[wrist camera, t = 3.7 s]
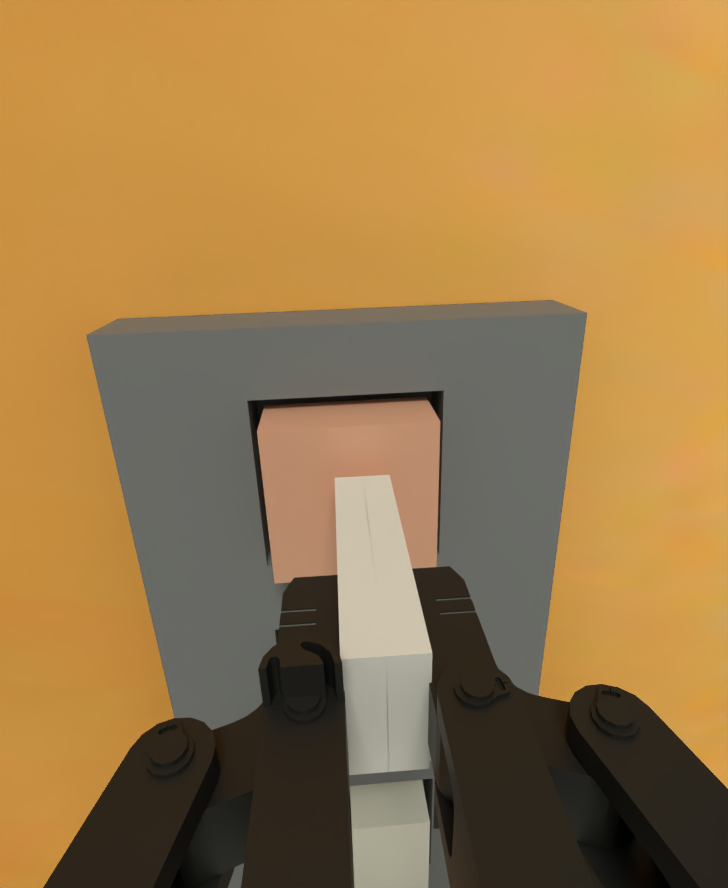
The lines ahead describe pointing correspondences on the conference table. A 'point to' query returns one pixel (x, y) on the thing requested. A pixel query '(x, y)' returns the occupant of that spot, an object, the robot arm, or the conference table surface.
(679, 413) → the conference table surface
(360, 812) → the cream button
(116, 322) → the button board
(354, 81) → the conference table surface
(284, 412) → the terracotta button
